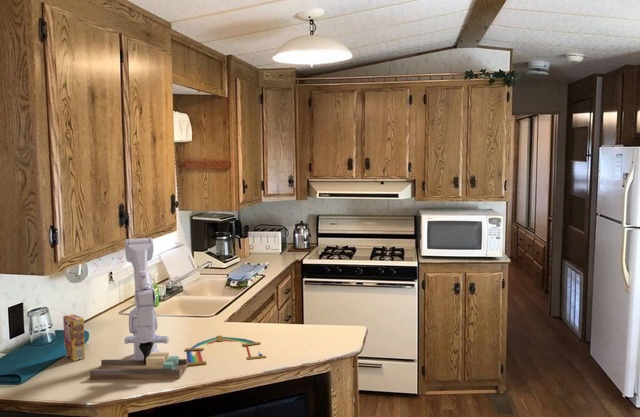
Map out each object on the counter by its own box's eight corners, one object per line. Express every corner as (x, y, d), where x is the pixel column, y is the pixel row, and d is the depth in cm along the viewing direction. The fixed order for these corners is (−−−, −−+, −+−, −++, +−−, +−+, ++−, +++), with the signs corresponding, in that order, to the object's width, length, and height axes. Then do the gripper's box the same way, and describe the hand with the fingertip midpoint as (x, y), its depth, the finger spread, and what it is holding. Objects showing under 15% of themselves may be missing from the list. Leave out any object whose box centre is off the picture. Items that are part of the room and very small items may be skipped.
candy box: (86, 358, 199) (84, 318, 198) (74, 361, 196) (72, 320, 195) (76, 352, 205) (73, 313, 204) (64, 355, 202) (62, 316, 201)
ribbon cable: (184, 341, 218) (186, 367, 189) (183, 338, 218) (185, 364, 189) (255, 334, 226) (267, 358, 197) (255, 332, 226) (267, 356, 197)
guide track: (102, 367, 189) (102, 355, 189) (187, 367, 189) (187, 354, 188) (90, 379, 179) (89, 366, 179) (179, 378, 179) (179, 365, 178)
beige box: (152, 364, 187) (151, 352, 186) (169, 364, 187) (168, 351, 186) (146, 371, 181) (145, 358, 180) (164, 371, 181) (163, 358, 180)
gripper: (120, 328, 179) (121, 368, 180) (163, 328, 178) (165, 367, 180) (128, 322, 186) (129, 360, 187) (169, 321, 185) (171, 360, 187)
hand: (147, 363), depth 184 cm, fingers closed, pressing on beige box
